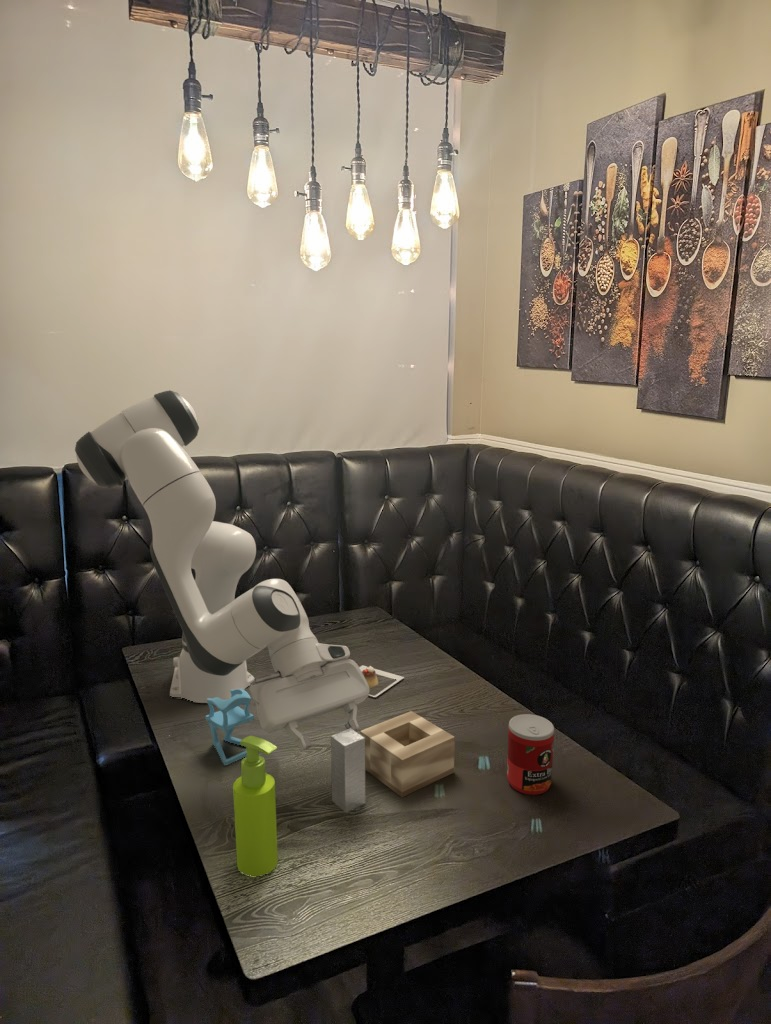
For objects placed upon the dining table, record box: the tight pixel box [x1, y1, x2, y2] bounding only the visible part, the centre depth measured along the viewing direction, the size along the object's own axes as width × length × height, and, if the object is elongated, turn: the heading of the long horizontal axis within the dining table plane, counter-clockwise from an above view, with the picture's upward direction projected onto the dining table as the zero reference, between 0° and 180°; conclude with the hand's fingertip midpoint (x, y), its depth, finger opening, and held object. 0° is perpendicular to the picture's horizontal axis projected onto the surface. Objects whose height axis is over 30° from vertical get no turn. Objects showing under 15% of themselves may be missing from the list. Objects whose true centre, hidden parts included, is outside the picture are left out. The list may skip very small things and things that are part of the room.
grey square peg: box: [330, 728, 366, 813], centre depth 116 cm, size 4×4×12 cm
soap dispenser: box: [232, 734, 279, 876], centre depth 101 cm, size 6×7×20 cm
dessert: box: [359, 664, 405, 698], centre depth 161 cm, size 12×12×5 cm
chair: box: [205, 689, 255, 766], centre depth 132 cm, size 8×8×12 cm
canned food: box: [506, 713, 555, 796], centre depth 121 cm, size 8×8×11 cm
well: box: [359, 710, 456, 798], centre depth 126 cm, size 12×12×7 cm
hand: (330, 740), depth 116 cm, fingers open, 8 cm apart
